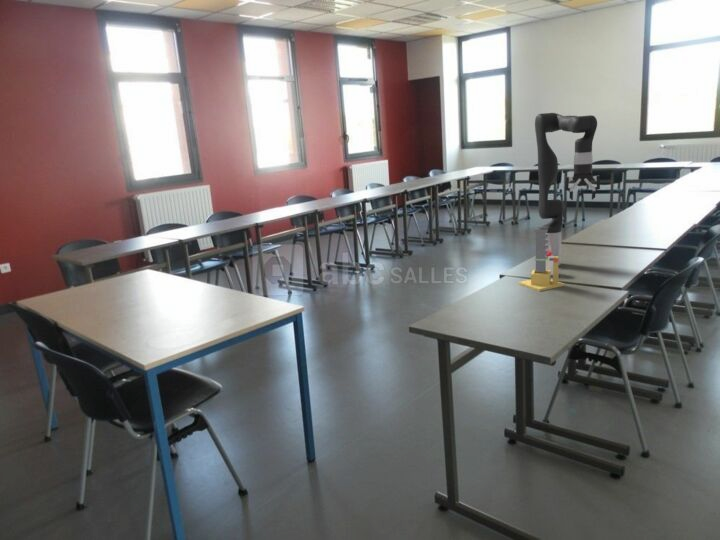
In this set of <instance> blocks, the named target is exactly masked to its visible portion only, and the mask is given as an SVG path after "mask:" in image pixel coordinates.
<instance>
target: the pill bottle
mask: <svg viewBox="0 0 720 540" xmlns="http://www.w3.org/2000/svg"><path fill="white" fill-rule="evenodd" d="M546 257H548V260H546V270H551V275H552V276H553V261H549V258H553V257H554V256H553V255H552V251H548V255H546Z"/></svg>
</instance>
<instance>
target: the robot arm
mask: <svg viewBox="0 0 720 540" xmlns="http://www.w3.org/2000/svg"><path fill="white" fill-rule="evenodd" d="M534 119H535V120H534V132H535V137H536V146H537V173H538V214H539V217H540V219H542V220H547V219H550V221H548V223H546V224H544V225H542V227H541V228H548V229H547V233H546V235H548V238H546V240H548V244H546V246H548V249H546V251H552V255H553V256H559V264H558V265H559V266H561V264H562V227H563V217H564V205H563V201H562V200H561V199H560V198H559V199H558V198H557V199H555V198H554V199H549V192H550V190H551V189H550V188H552V187H551V186H552V185H553V183H554V181H555V180H556V178H557V176H558V172H559V165H558V162H559V161H558V157H557V155H556V154H555V152H554V150H553V149H552V148H551V146H550V145H549V143H548V139H547V133H554V132H557V131H563V132H568V133H569V132H570V133H573V134H581V133H582V134H583V133H584V135H583V136H582V137H580V138H578V139H575V141H574V154H573V156H574V157H573V175H572V176H566V177H565V185H564V186H565V187H564V190H565V191H568V192H569V199H570V200H571V201H573V199H574V189H576V188H577V186H578V187H587V186H588V187H589V188H590V189H591V200H594V199H595V198H596V192H597V191H598V190H600V189H601V180H600V179H601V177H600V175H599V174H598V175H593V141H594V137H595V134H596V131H597V128H598V120H597V118H596V116H595V115H592V114H591V115H589V114H588V115H579V116H577V115H562V114H559V113H557V112H546V113H545V112H544V113H538V114H537V115H536V116H535V118H534ZM593 179H594V181H595V182H596V186H594V185H593V184H592V181H593ZM571 181H573V182H574V183H573V184H572V186H571V187H570V186H569V183H570V182H571Z"/></svg>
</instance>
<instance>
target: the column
mask: <svg viewBox="0 0 720 540" xmlns="http://www.w3.org/2000/svg"><path fill="white" fill-rule="evenodd" d="M547 229H548V228H542V227H535V228H534V233H535V259H534V260H535V270H536V272H545V271H546V260H548V257H546V255H548V251H546V249H548V246H546V244H548V240H546V238H548V235H546V233H547Z"/></svg>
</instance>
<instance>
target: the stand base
mask: <svg viewBox="0 0 720 540" xmlns="http://www.w3.org/2000/svg"><path fill="white" fill-rule="evenodd" d="M549 261H553V275H552V276H551V270H546V271H545V272H536V269H532V271H531V273H530V279H526V280H521V281H518V282H517V285H519V286H522V287H526V288H528V289H531V290H534V291H537V292H542V291H545V290H546V291H547V290H551V289H555V288H560V287H564V286H565V283H563V282H561V281H559V266H558V264H559V256H554V257H553V258H549ZM551 277H552V278H551Z"/></svg>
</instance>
